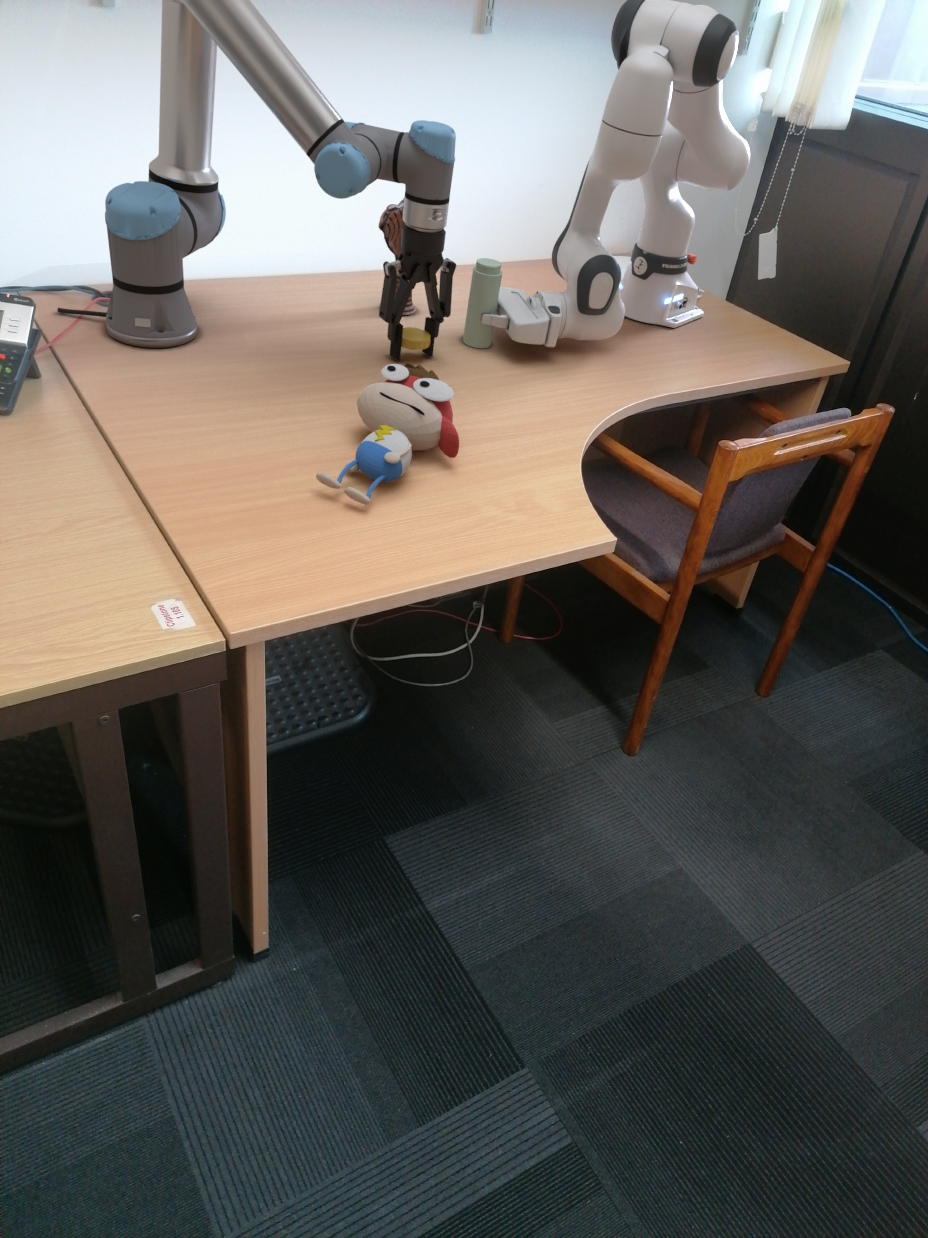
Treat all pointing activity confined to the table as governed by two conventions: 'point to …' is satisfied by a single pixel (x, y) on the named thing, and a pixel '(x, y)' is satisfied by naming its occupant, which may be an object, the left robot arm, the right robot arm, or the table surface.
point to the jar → (482, 302)
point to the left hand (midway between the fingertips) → (411, 355)
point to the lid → (415, 338)
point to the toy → (399, 425)
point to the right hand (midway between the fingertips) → (477, 311)
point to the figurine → (395, 240)
